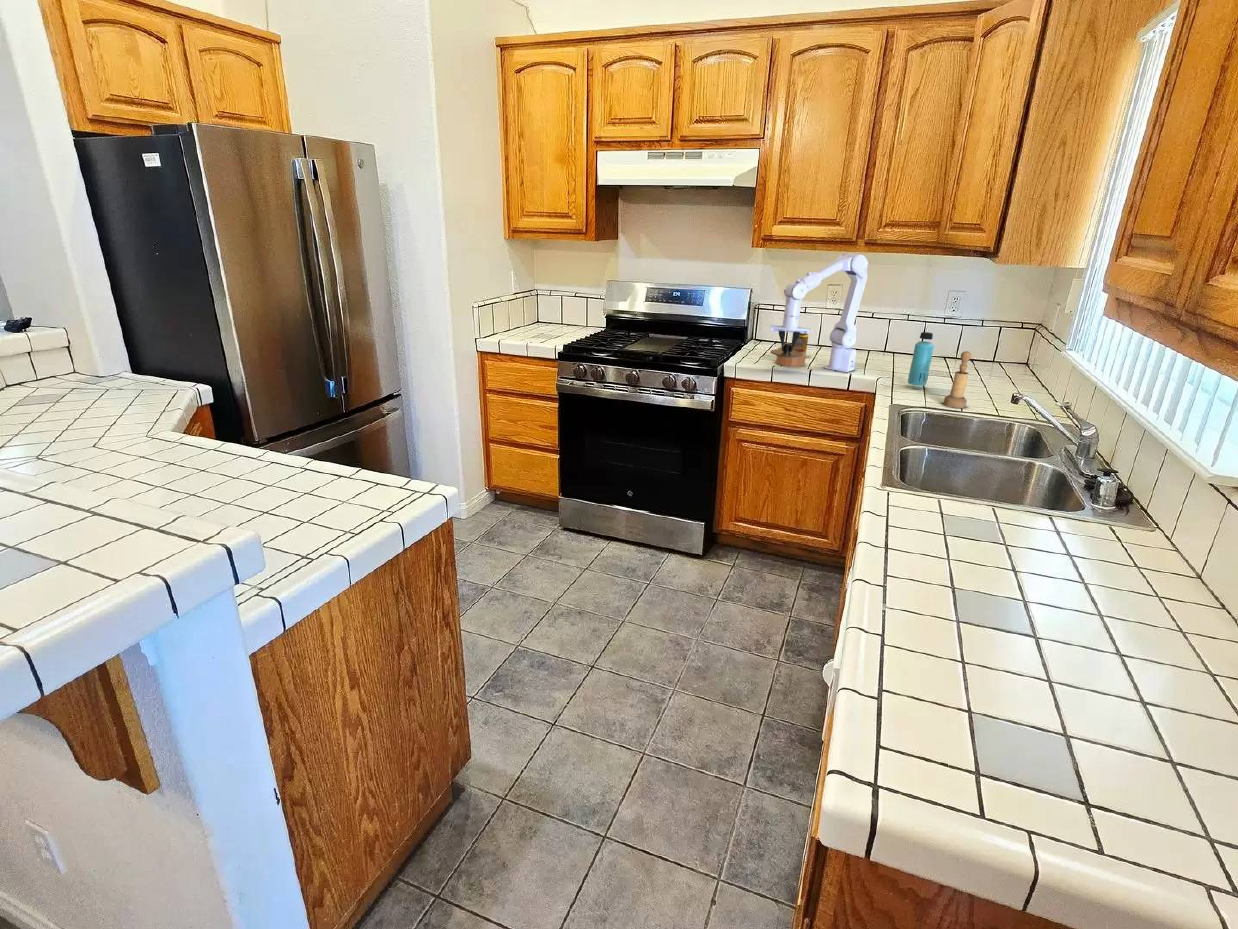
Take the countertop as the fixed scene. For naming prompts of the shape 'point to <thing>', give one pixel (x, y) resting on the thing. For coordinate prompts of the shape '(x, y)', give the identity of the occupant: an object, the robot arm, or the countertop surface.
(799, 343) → the condiment
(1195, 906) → the countertop surface
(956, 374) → the mortar and pestle
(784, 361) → the terracotta bowl
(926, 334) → the beverage bottle
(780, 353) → the pot lid
